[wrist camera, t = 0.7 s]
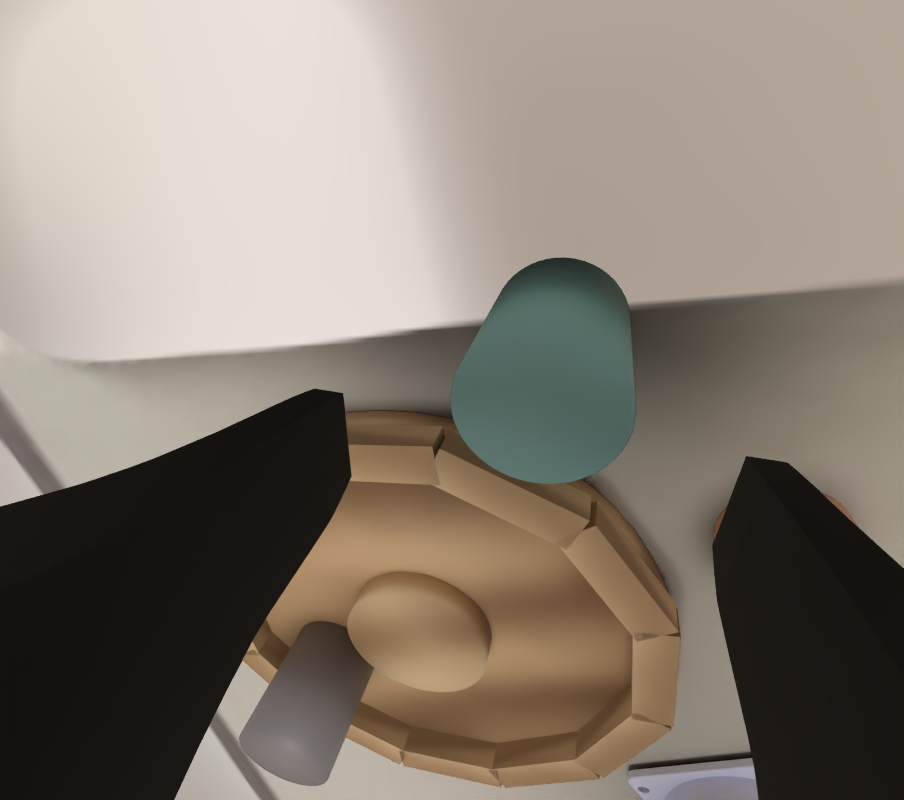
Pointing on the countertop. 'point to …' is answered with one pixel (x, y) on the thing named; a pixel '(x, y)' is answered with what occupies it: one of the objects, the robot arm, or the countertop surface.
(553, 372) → the bead teal
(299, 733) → the bead charcoal
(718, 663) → the countertop surface
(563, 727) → the tray
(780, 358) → the countertop surface
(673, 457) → the countertop surface
